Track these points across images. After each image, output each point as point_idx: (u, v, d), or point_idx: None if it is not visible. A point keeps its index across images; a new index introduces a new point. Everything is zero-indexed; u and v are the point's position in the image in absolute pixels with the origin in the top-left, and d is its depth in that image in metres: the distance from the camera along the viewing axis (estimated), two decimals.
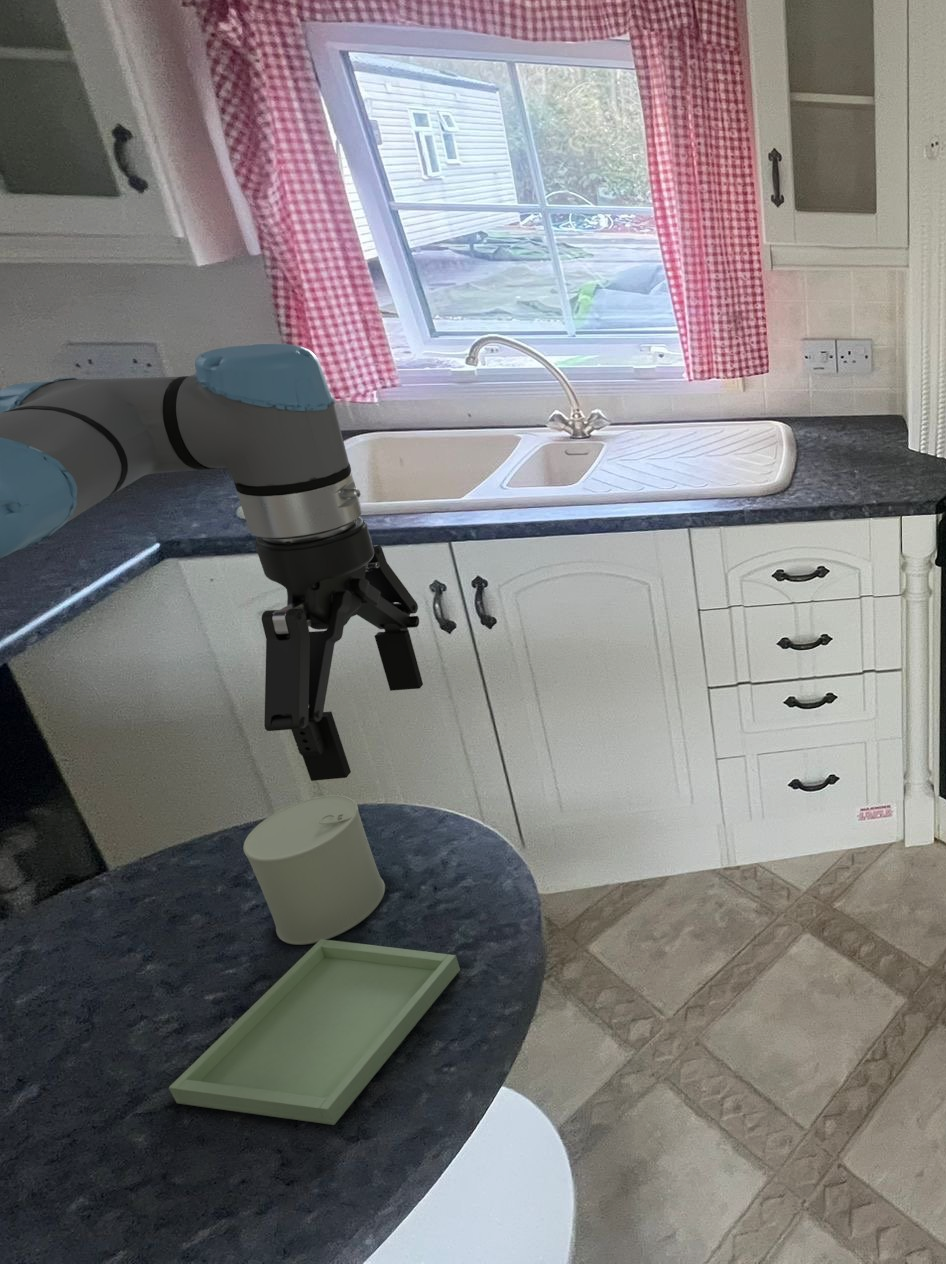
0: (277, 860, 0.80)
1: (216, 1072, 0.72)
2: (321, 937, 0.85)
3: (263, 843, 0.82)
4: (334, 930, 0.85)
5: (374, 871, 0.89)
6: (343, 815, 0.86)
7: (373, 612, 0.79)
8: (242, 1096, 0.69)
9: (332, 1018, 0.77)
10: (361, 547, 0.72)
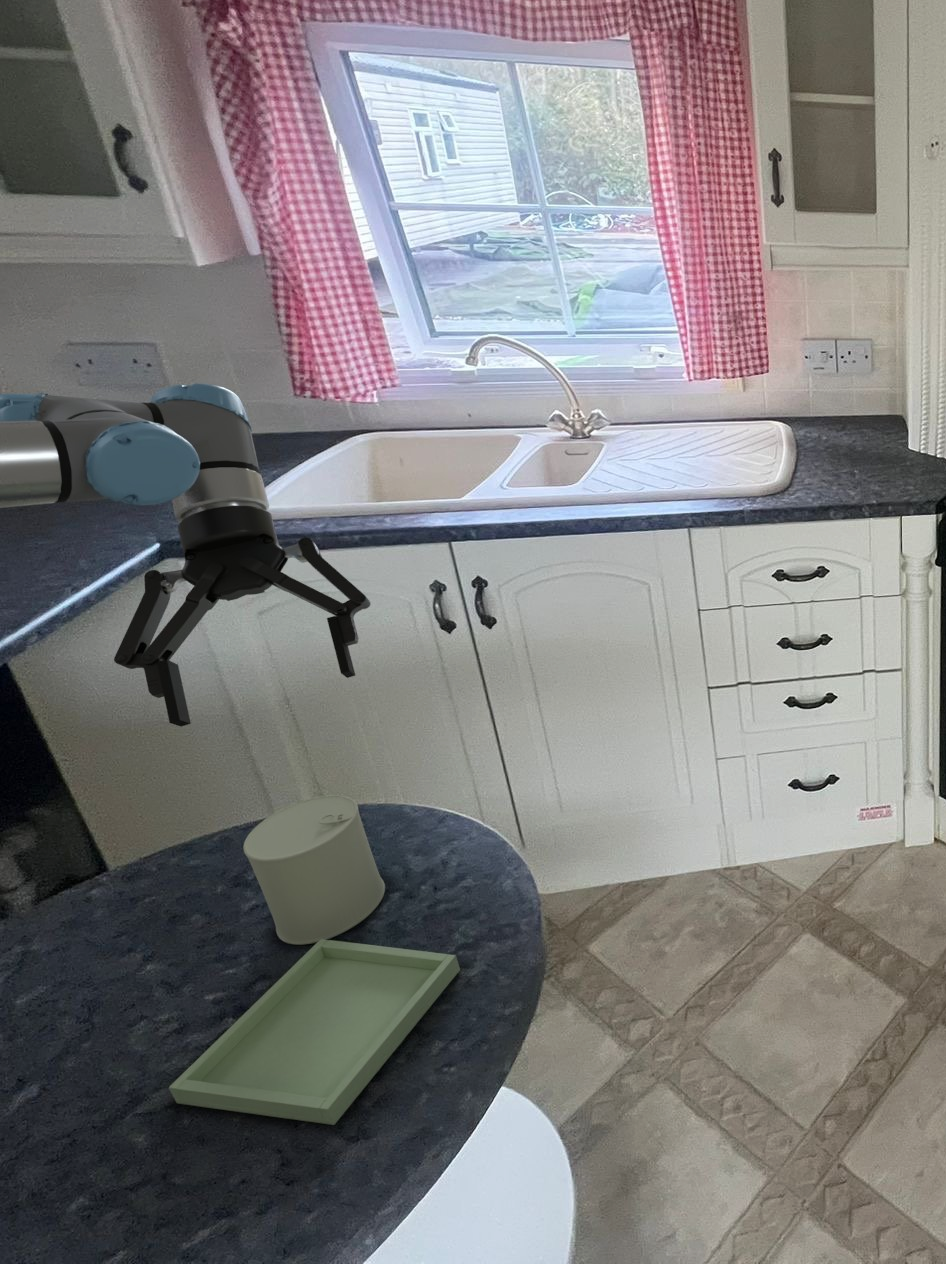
0: (277, 860, 0.80)
1: (216, 1072, 0.72)
2: (321, 937, 0.85)
3: (263, 843, 0.82)
4: (334, 930, 0.85)
5: (374, 871, 0.89)
6: (343, 815, 0.86)
7: (192, 623, 0.86)
8: (242, 1096, 0.69)
9: (332, 1018, 0.77)
10: None
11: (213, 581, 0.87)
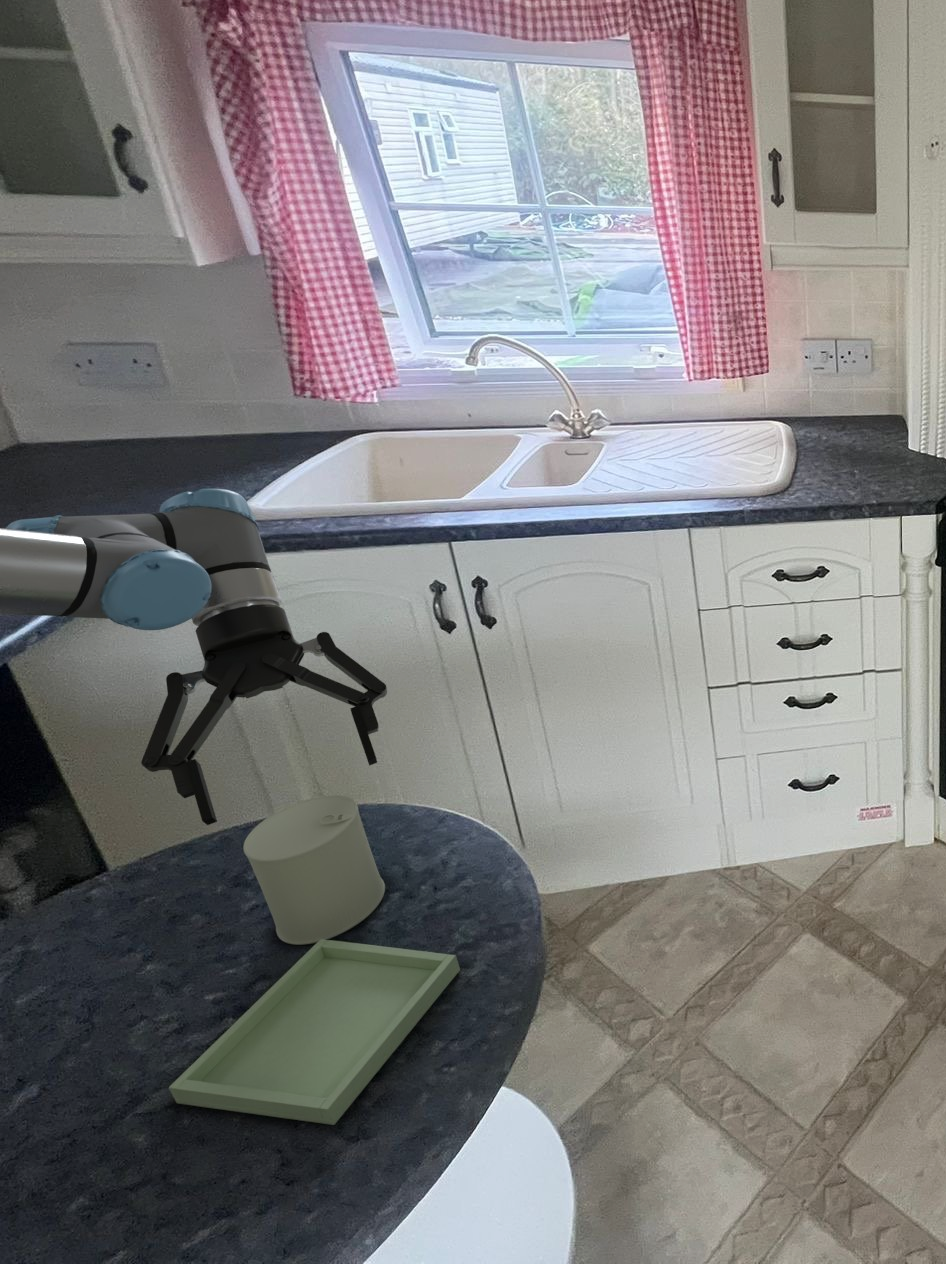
0: (277, 860, 0.80)
1: (216, 1072, 0.72)
2: (321, 937, 0.85)
3: (263, 843, 0.82)
4: (334, 930, 0.85)
5: (374, 871, 0.89)
6: (343, 815, 0.86)
7: (214, 722, 0.88)
8: (242, 1096, 0.69)
9: (332, 1018, 0.77)
10: None
11: (236, 679, 0.89)
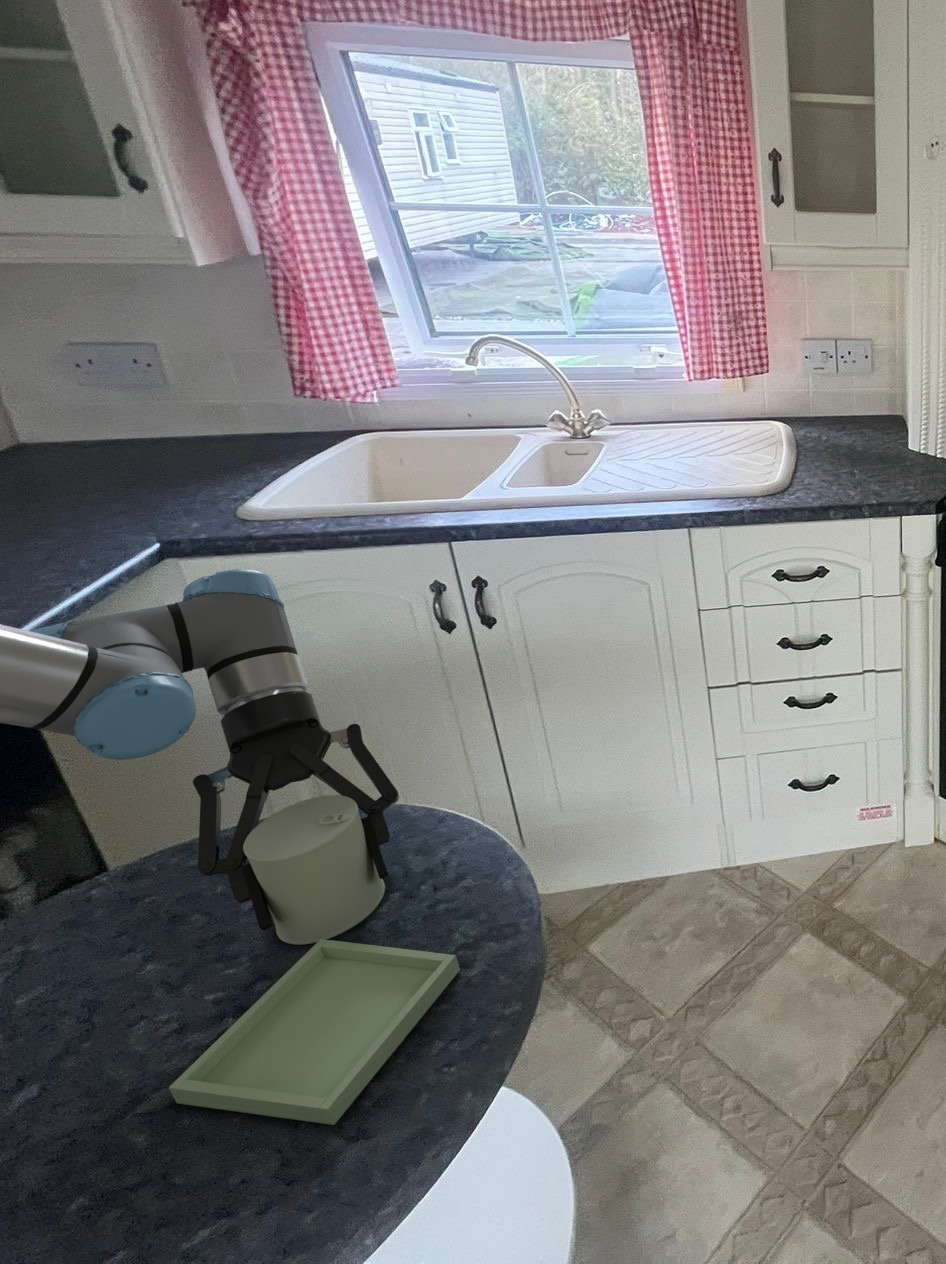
0: (277, 860, 0.80)
1: (216, 1072, 0.72)
2: (321, 937, 0.85)
3: (263, 843, 0.82)
4: (334, 930, 0.85)
5: (374, 871, 0.89)
6: (343, 815, 0.86)
7: (257, 818, 0.85)
8: (242, 1096, 0.69)
9: (332, 1018, 0.77)
10: None
11: (263, 773, 0.86)
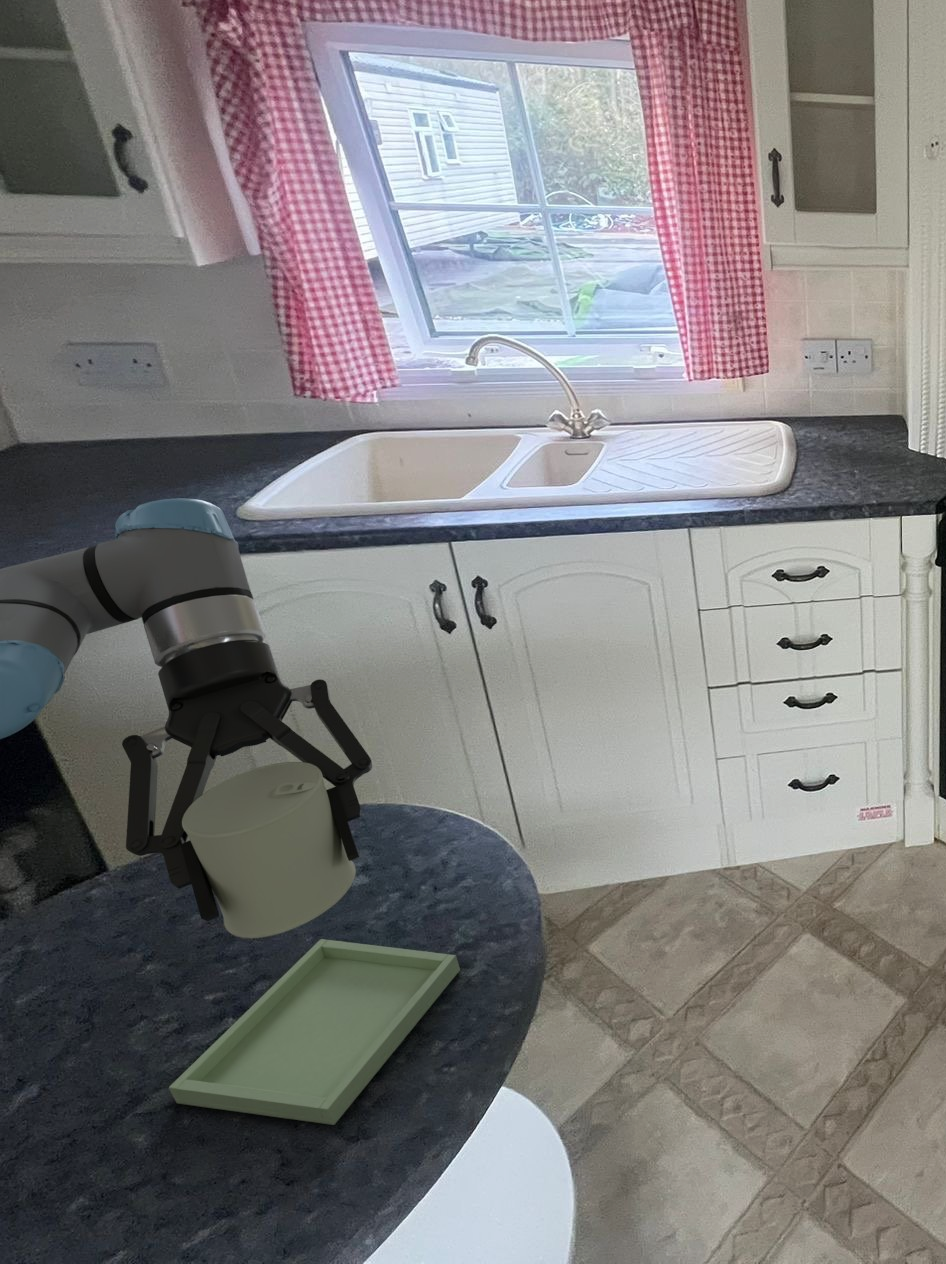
0: (222, 836, 0.67)
1: (216, 1072, 0.72)
2: (277, 929, 0.71)
3: (206, 817, 0.69)
4: (293, 921, 0.72)
5: (342, 852, 0.76)
6: (304, 784, 0.72)
7: (201, 788, 0.72)
8: (242, 1096, 0.69)
9: (332, 1018, 0.77)
10: None
11: (208, 734, 0.72)
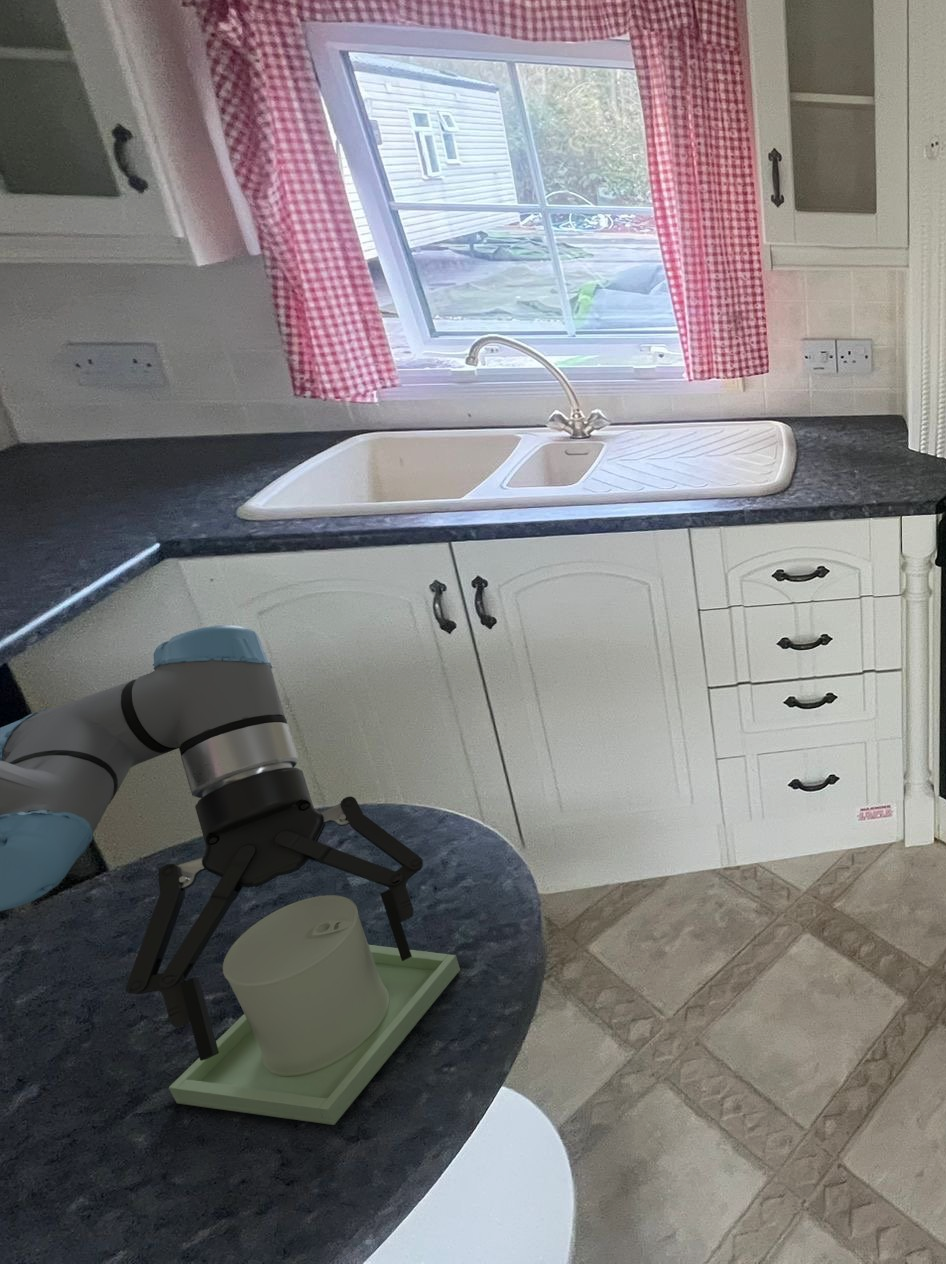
0: (262, 984, 0.68)
1: (216, 1072, 0.72)
2: (315, 1067, 0.72)
3: (246, 961, 0.70)
4: (330, 1057, 0.73)
5: (377, 982, 0.77)
6: (340, 922, 0.73)
7: (217, 923, 0.72)
8: (242, 1096, 0.69)
9: None
10: None
11: (244, 868, 0.73)
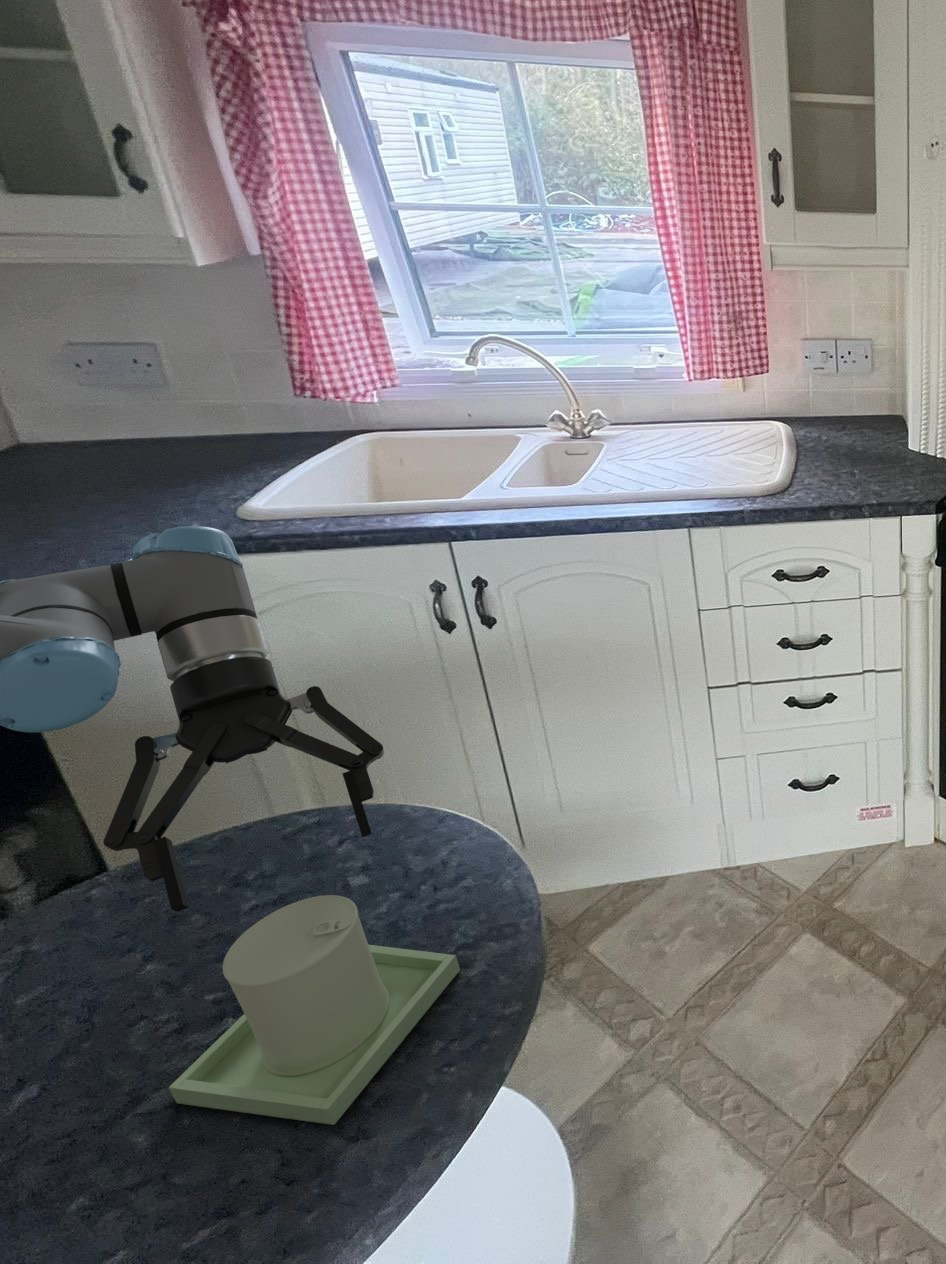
0: (262, 984, 0.68)
1: (216, 1072, 0.72)
2: (315, 1067, 0.72)
3: (246, 961, 0.70)
4: (330, 1057, 0.73)
5: (377, 982, 0.77)
6: (340, 922, 0.73)
7: (189, 792, 0.78)
8: (242, 1096, 0.69)
9: None
10: None
11: (215, 743, 0.79)
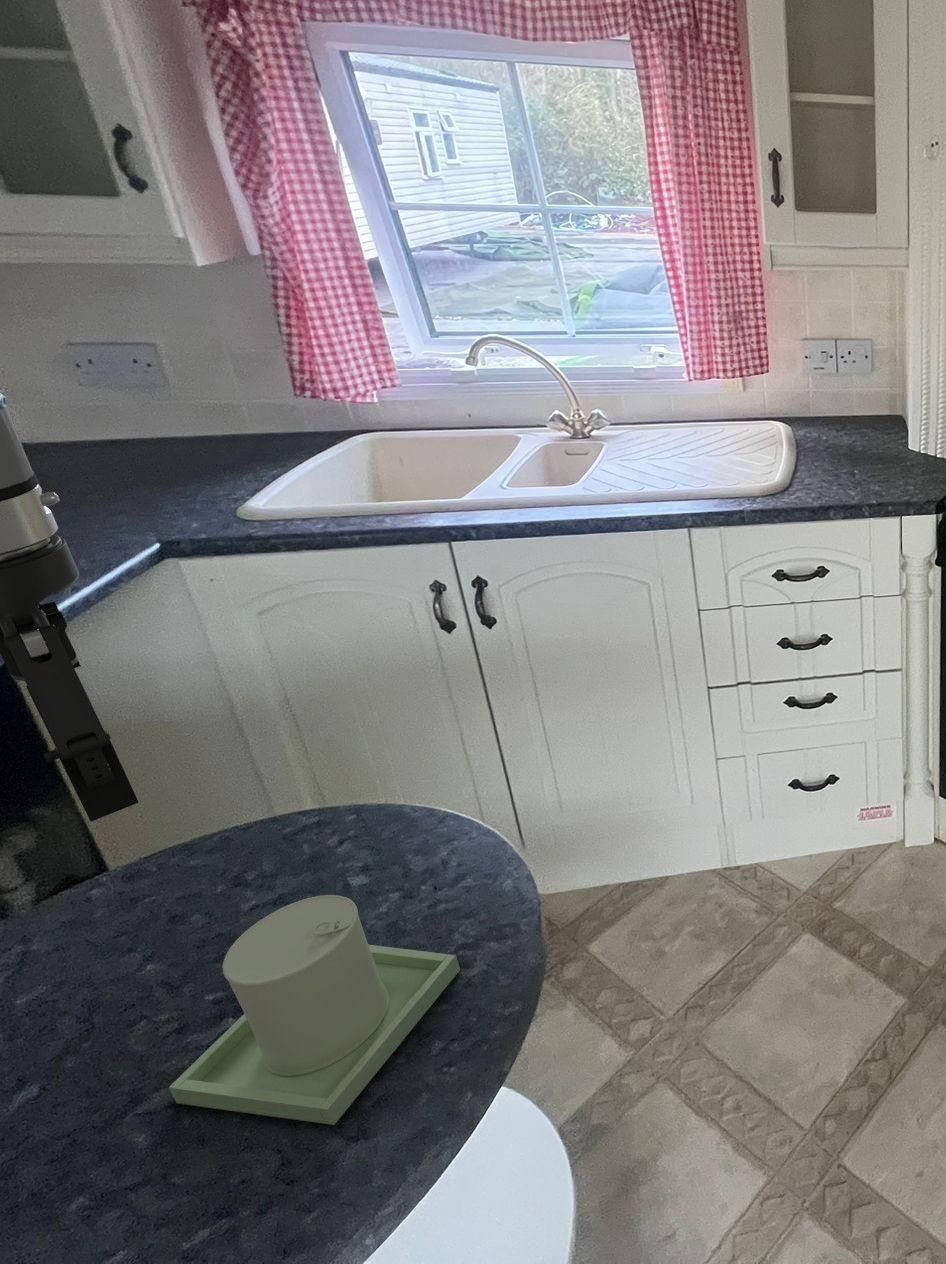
0: (262, 984, 0.68)
1: (216, 1072, 0.72)
2: (315, 1067, 0.72)
3: (246, 961, 0.70)
4: (330, 1057, 0.73)
5: (377, 982, 0.77)
6: (340, 922, 0.73)
7: None
8: (242, 1096, 0.69)
9: None
10: (72, 557, 0.65)
11: None
